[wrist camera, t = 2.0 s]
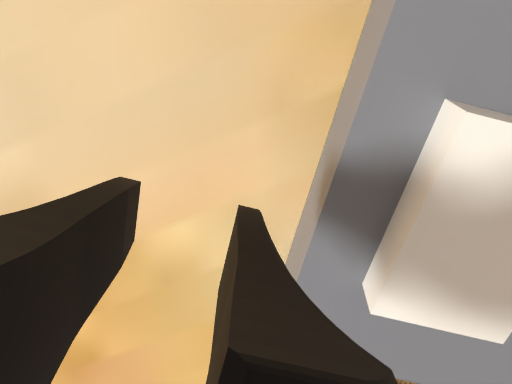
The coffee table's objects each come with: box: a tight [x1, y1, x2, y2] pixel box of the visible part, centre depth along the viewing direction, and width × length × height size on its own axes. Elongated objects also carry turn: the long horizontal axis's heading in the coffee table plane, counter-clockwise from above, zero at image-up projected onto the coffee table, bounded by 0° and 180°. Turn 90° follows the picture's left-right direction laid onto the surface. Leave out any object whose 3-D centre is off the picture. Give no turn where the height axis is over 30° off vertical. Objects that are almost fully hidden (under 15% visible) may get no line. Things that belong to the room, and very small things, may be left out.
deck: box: [285, 0, 512, 384], centre depth 19 cm, size 20×14×4 cm
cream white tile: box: [362, 99, 512, 344], centre depth 16 cm, size 9×6×2 cm, turn 167°
